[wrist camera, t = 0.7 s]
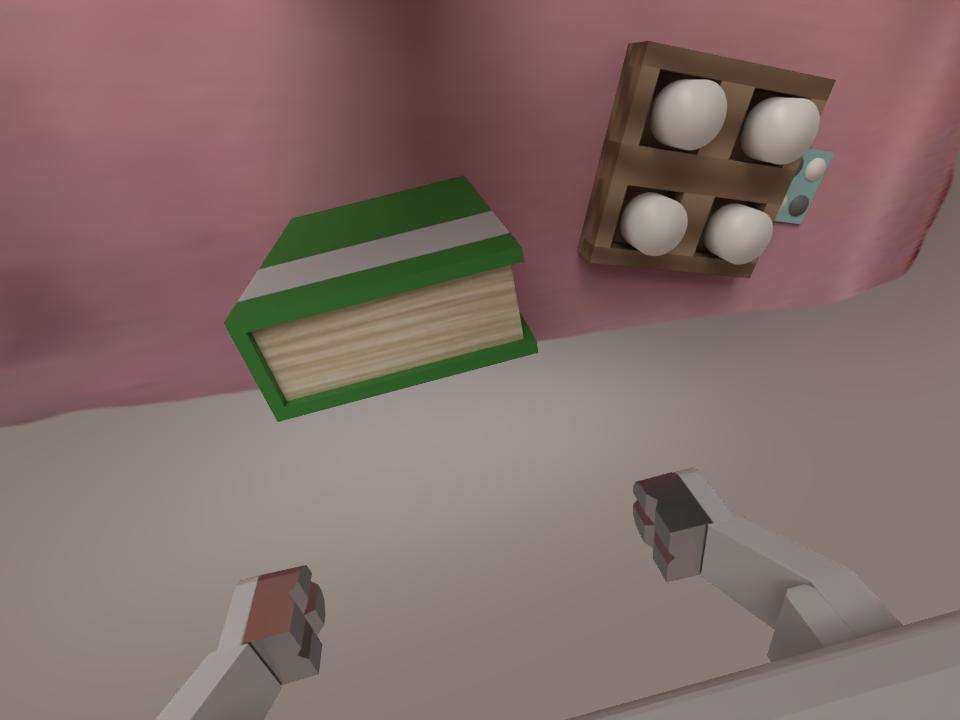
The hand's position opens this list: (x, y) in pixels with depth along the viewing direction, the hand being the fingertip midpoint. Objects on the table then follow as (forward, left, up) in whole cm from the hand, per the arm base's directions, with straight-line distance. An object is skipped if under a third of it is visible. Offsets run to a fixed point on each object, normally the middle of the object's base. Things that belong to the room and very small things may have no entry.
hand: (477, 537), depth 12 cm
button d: (0, +35, -39) cm, 52 cm away
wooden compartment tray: (-5, +30, -43) cm, 52 cm away
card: (-5, +44, -43) cm, 61 cm away
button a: (-10, +25, -39) cm, 48 cm away
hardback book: (+5, -1, -43) cm, 44 cm away
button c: (-10, +35, -39) cm, 53 cm away
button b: (0, +25, -39) cm, 46 cm away
